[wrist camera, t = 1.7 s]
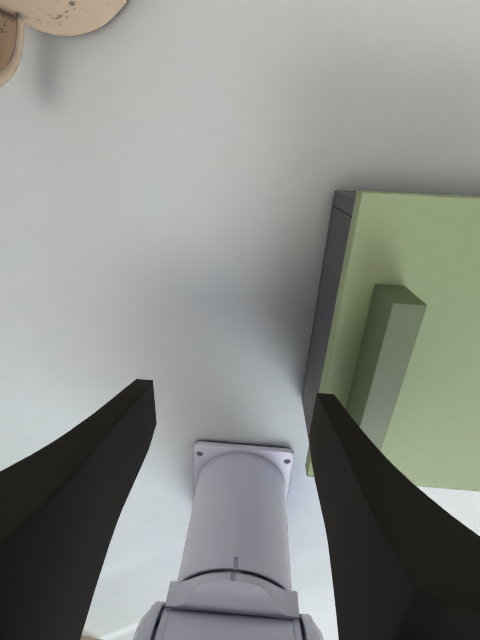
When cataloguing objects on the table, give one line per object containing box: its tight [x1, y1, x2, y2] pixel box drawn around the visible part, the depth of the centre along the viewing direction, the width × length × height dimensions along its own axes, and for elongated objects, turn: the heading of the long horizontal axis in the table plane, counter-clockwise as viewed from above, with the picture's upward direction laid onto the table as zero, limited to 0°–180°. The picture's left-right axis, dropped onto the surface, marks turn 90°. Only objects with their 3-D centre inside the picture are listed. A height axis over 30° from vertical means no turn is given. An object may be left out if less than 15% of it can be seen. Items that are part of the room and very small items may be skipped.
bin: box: [302, 190, 357, 439], centre depth 18 cm, size 14×12×6 cm
